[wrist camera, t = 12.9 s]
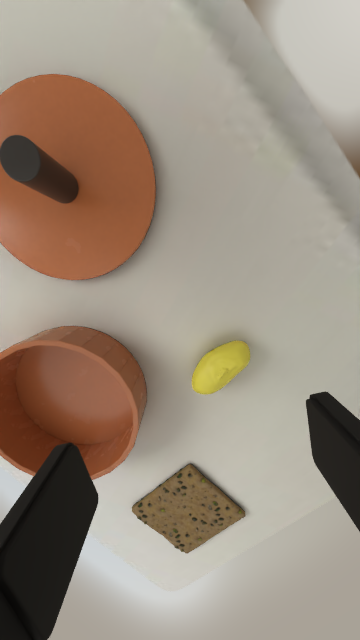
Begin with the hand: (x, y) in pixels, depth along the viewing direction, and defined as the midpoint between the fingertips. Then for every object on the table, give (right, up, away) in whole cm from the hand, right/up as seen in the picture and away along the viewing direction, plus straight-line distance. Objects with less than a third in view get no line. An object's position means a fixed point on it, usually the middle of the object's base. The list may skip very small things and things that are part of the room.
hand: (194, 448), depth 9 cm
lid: (-12, +18, +13) cm, 26 cm away
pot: (-13, -4, +20) cm, 24 cm away
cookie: (+1, -23, +24) cm, 33 cm away
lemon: (+4, 0, +18) cm, 19 cm away
